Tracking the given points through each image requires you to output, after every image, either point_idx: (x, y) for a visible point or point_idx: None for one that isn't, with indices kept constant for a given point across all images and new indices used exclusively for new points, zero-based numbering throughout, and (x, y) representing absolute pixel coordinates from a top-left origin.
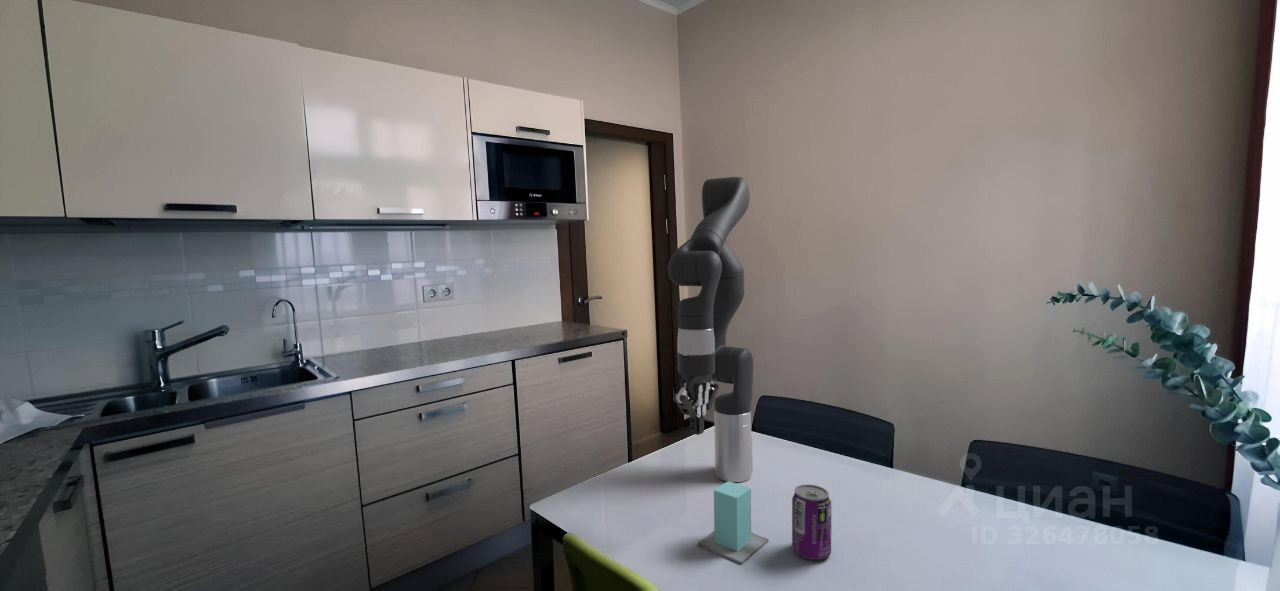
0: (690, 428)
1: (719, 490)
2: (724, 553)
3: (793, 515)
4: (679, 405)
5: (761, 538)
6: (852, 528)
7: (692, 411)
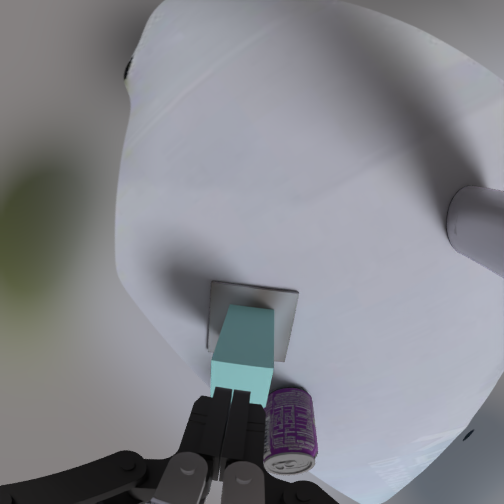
0: (193, 405)
1: (217, 369)
2: (211, 327)
3: (272, 427)
4: (55, 481)
5: (281, 354)
6: (363, 412)
7: (125, 497)
